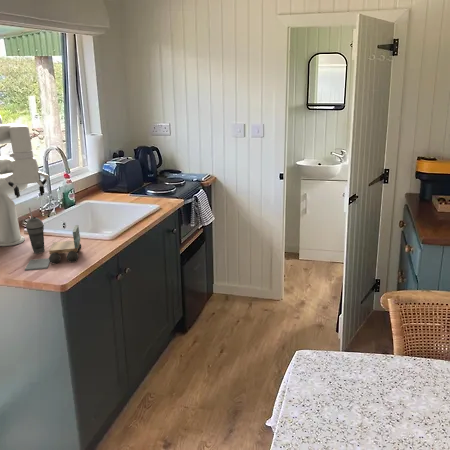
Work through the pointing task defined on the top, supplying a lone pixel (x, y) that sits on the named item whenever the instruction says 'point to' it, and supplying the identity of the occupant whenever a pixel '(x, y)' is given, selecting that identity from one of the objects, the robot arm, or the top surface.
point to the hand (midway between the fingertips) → (30, 196)
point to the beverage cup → (36, 233)
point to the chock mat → (38, 264)
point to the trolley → (66, 248)
